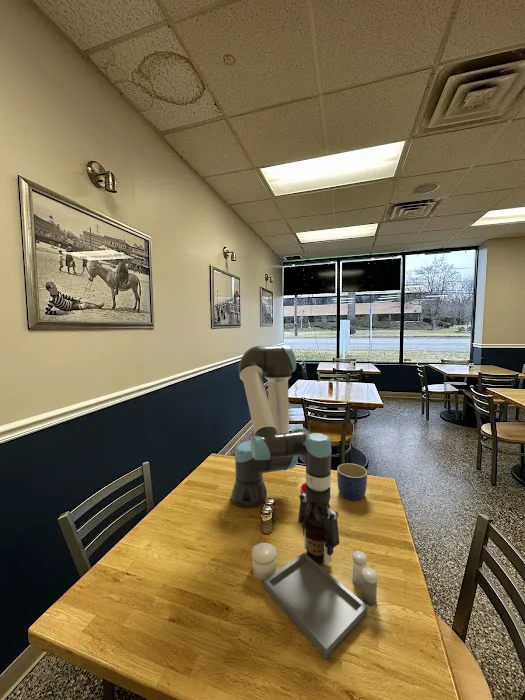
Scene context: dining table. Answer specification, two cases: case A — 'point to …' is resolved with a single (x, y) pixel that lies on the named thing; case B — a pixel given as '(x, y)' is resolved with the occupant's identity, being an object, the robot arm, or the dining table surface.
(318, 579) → the tray
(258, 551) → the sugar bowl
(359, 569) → the salt shaker
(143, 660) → the dining table surface
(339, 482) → the planter
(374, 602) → the pepper shaker
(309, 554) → the coffee cup
